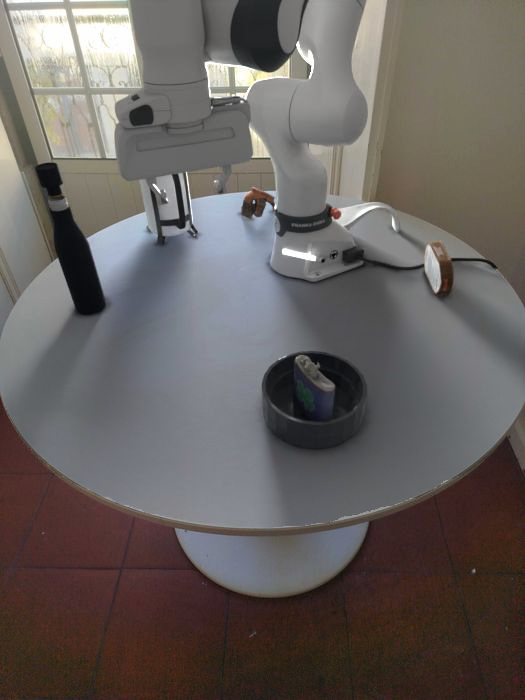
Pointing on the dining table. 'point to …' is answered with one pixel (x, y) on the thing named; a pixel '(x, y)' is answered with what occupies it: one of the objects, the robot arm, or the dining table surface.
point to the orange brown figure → (256, 203)
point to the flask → (312, 391)
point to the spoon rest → (359, 211)
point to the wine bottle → (71, 246)
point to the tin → (438, 268)
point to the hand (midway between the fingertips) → (192, 198)
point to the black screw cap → (291, 422)
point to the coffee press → (169, 207)
